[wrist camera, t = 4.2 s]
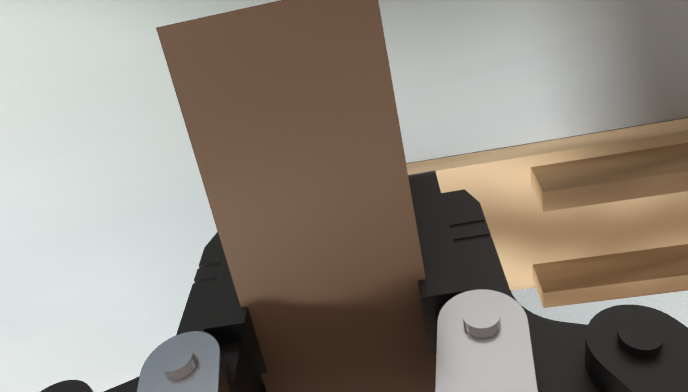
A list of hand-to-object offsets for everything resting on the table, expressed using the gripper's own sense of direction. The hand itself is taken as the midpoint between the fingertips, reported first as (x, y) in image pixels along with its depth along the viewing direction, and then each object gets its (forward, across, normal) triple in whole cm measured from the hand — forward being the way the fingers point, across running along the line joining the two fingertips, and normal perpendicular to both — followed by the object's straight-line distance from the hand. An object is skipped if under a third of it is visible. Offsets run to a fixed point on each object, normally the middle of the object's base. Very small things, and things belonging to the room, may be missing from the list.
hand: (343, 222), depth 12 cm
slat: (+1, 0, +1) cm, 2 cm away
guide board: (+12, -9, +10) cm, 18 cm away
